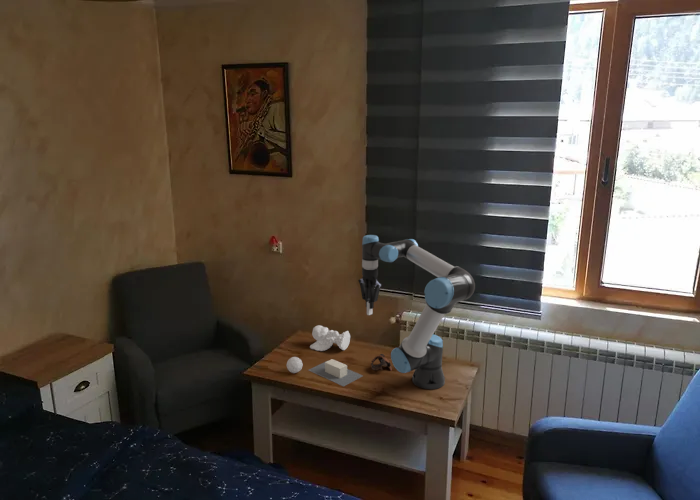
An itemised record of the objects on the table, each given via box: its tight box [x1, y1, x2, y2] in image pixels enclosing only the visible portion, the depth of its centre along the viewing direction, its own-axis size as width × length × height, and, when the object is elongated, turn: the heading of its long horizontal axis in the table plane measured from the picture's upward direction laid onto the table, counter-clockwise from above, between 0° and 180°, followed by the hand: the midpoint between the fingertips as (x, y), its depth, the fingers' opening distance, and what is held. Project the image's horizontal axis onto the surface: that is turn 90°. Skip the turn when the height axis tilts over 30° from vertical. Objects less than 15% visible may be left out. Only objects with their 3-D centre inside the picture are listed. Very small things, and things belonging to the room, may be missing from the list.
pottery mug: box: [370, 353, 393, 371], centre depth 268 cm, size 12×10×8 cm
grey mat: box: [308, 360, 364, 387], centre depth 264 cm, size 24×14×1 cm, turn 48°
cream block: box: [324, 358, 348, 378], centre depth 263 cm, size 5×5×10 cm
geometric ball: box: [286, 356, 303, 374], centre depth 265 cm, size 8×8×8 cm
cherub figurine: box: [309, 324, 351, 352], centre depth 291 cm, size 13×12×20 cm
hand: (369, 314), depth 263 cm, fingers closed
